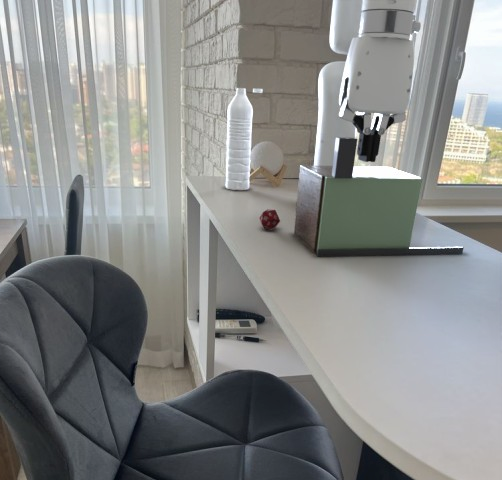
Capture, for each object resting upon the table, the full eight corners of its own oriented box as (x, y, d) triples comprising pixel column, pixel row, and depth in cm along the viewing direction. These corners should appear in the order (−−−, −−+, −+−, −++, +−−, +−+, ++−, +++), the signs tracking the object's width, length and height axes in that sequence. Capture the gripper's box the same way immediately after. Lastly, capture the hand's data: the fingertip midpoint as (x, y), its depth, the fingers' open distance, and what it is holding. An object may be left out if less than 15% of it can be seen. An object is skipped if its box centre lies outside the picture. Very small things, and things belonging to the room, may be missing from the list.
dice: (261, 225, 103) (262, 206, 102) (282, 228, 102) (284, 208, 100) (255, 229, 100) (256, 209, 98) (276, 233, 99) (278, 212, 97)
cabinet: (293, 234, 98) (300, 165, 93) (423, 233, 104) (436, 168, 99) (317, 256, 86) (326, 178, 80) (462, 254, 92) (480, 180, 86)
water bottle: (224, 189, 136) (227, 86, 125) (226, 185, 142) (229, 86, 131) (256, 191, 136) (262, 88, 125) (257, 187, 142) (262, 88, 131)
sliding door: (316, 251, 88) (329, 136, 79) (406, 250, 91) (427, 140, 83) (319, 254, 86) (332, 138, 78) (410, 252, 90) (432, 141, 82)
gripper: (418, 34, 78) (397, 158, 86) (328, 26, 75) (314, 156, 83) (445, 30, 72) (420, 165, 80) (347, 21, 68) (331, 163, 76)
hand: (366, 160), depth 81 cm, fingers closed
